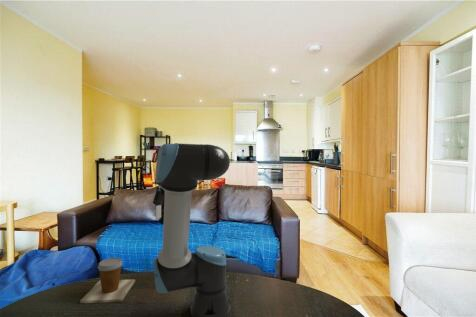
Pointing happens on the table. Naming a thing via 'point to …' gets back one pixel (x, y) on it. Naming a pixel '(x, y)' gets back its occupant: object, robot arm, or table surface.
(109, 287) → the disposable coffee cup
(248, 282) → the table surface
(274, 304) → the table surface
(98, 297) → the wooden board
